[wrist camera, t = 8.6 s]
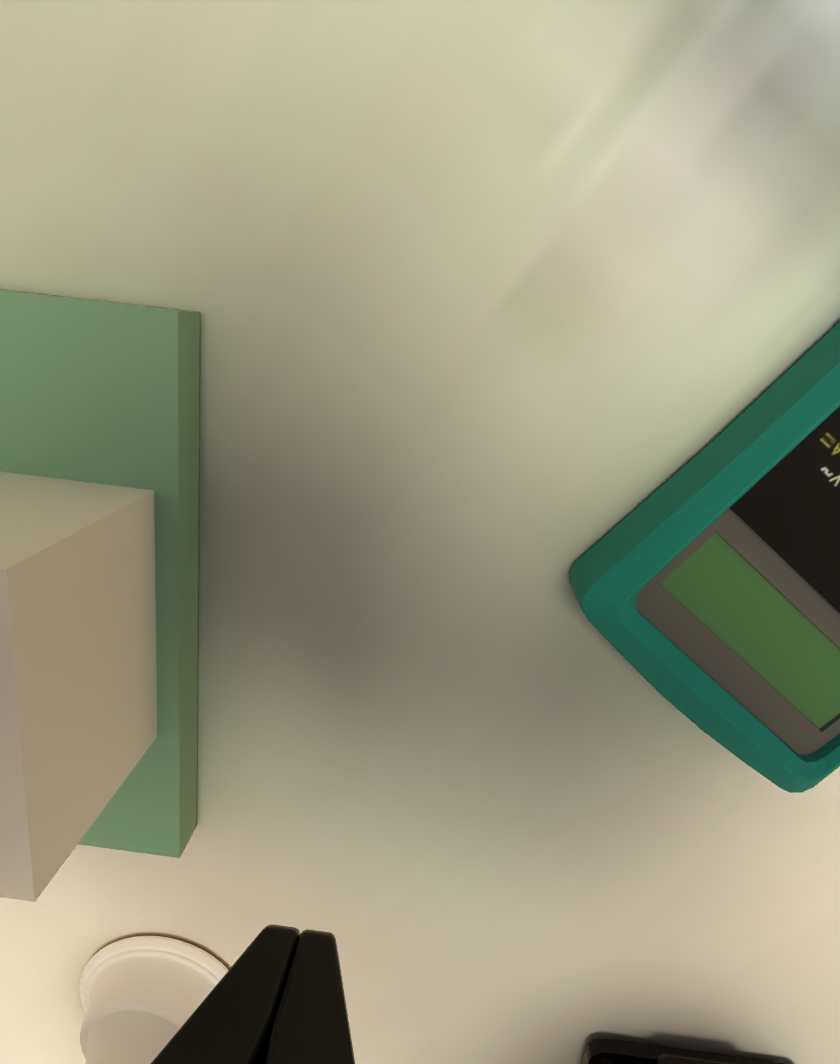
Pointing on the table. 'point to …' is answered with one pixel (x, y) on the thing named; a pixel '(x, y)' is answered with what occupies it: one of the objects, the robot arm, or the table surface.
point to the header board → (130, 461)
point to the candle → (141, 996)
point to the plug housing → (70, 663)
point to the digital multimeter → (741, 580)
